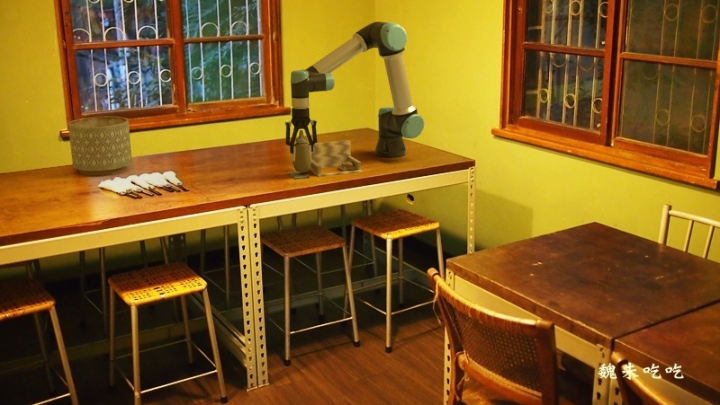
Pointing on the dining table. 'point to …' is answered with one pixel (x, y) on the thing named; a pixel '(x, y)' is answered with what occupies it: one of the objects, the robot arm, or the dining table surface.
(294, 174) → the mat
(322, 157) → the rack
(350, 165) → the offcut top
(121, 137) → the planter
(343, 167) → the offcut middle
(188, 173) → the dining table surface
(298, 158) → the squeeze bottle
